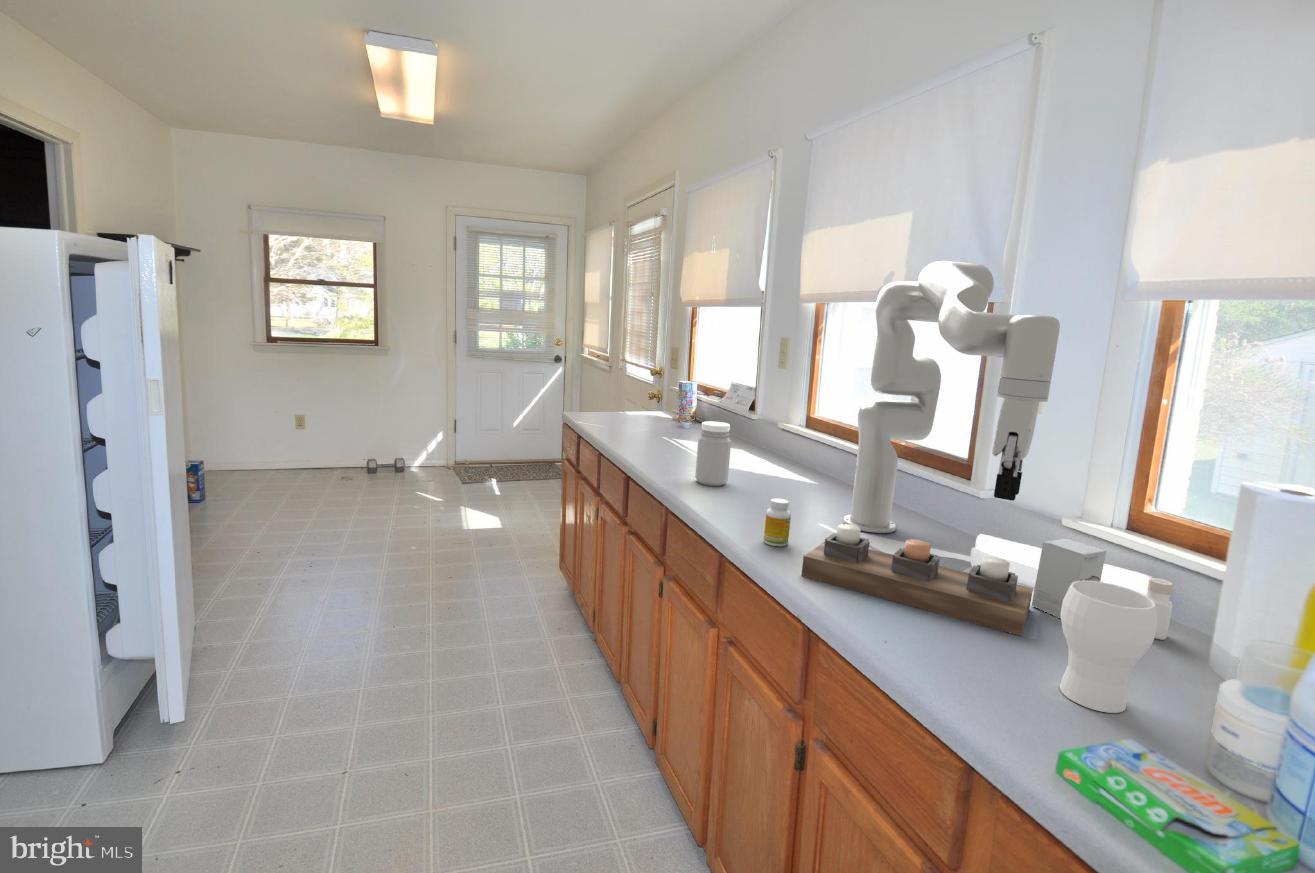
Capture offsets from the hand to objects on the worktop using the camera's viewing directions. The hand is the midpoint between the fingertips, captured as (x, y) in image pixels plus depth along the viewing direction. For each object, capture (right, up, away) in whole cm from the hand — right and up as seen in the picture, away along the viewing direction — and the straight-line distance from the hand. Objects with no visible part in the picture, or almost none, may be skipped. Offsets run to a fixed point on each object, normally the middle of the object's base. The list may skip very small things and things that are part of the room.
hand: (1006, 494), depth 115 cm
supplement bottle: (-34, -14, +34) cm, 50 cm away
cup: (0, -26, -23) cm, 35 cm away
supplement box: (+13, -22, +6) cm, 26 cm away
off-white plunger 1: (-23, -11, +16) cm, 30 cm away
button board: (-12, -19, +11) cm, 25 cm away
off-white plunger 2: (-1, -15, +3) cm, 15 cm away
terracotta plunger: (-12, -13, +9) cm, 20 cm away
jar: (-44, -4, +86) cm, 97 cm away
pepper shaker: (+24, -24, -1) cm, 34 cm away
